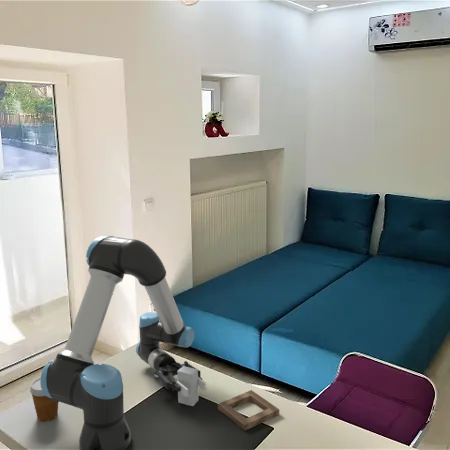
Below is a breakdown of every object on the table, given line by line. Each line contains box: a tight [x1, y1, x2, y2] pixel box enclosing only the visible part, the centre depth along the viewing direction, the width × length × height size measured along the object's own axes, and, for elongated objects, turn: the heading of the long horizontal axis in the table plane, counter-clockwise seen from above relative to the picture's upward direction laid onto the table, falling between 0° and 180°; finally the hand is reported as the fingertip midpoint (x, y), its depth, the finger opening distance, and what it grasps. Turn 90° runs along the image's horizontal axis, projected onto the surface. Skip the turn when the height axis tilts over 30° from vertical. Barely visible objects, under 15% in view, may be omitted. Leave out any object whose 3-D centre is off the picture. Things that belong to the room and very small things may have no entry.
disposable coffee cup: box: [29, 377, 59, 423], centre depth 161 cm, size 10×10×12 cm
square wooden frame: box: [217, 389, 280, 431], centre depth 165 cm, size 15×15×2 cm
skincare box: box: [176, 366, 199, 407], centre depth 169 cm, size 6×4×12 cm
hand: (196, 389), depth 165 cm, fingers closed on skincare box, 6 cm apart
